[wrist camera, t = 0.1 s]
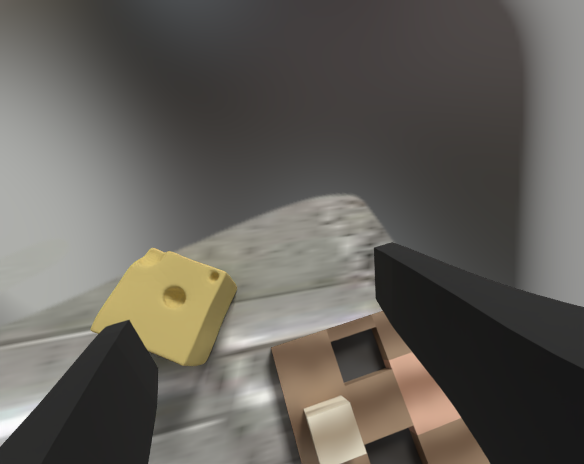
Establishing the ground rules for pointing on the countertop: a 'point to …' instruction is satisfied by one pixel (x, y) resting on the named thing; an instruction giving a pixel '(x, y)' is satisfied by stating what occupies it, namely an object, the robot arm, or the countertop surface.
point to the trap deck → (373, 395)
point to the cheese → (171, 305)
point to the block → (334, 431)
